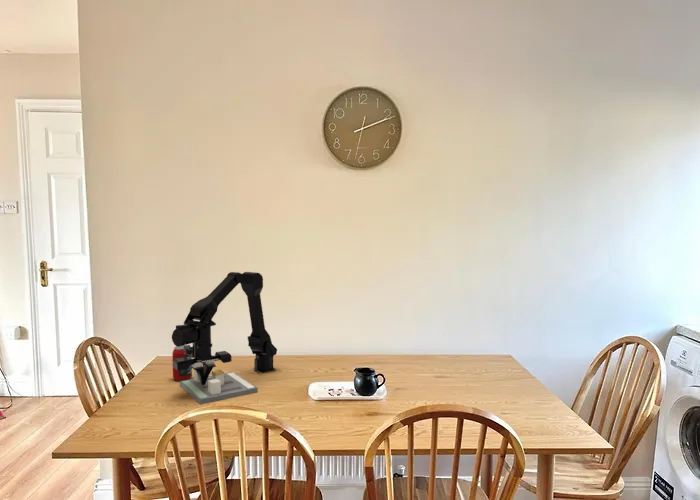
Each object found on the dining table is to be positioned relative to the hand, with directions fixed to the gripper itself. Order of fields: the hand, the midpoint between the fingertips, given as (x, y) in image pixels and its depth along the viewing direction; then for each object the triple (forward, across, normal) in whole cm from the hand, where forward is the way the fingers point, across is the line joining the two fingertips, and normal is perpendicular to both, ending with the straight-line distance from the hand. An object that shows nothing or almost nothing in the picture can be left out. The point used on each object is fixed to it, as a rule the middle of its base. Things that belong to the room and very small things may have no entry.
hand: (203, 384), depth 172 cm
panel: (+2, -5, 0) cm, 6 cm away
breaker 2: (+1, -1, +8) cm, 8 cm away
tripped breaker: (+1, -5, 0) cm, 5 cm away
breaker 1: (+1, -1, -7) cm, 8 cm away
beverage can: (+3, +2, -18) cm, 18 cm away
